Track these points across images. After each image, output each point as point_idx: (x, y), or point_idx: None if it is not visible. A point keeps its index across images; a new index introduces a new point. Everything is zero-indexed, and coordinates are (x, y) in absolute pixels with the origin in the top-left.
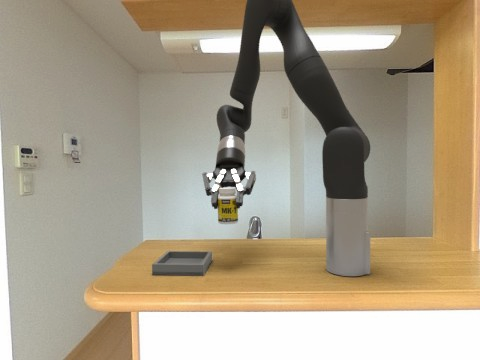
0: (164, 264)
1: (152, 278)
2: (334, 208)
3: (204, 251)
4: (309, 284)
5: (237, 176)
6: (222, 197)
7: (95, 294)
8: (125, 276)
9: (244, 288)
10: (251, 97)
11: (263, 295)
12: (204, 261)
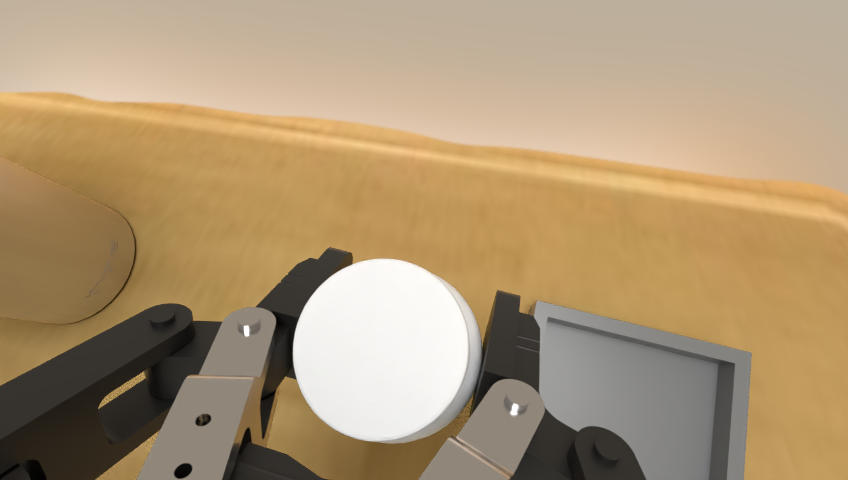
0: (695, 339)
1: (714, 316)
2: None
3: None
4: (239, 176)
5: (160, 457)
6: (444, 282)
7: None
8: (832, 361)
9: (416, 178)
10: None
11: (379, 127)
12: None
